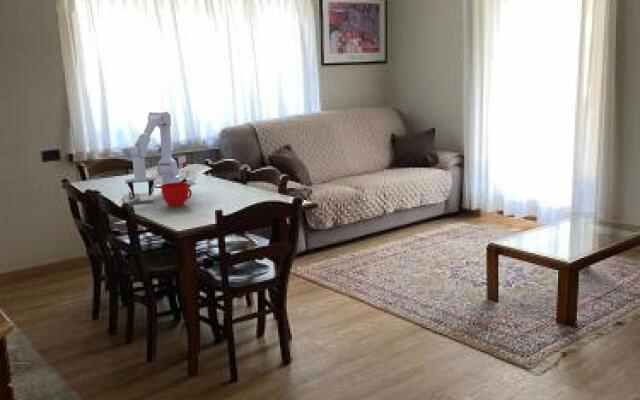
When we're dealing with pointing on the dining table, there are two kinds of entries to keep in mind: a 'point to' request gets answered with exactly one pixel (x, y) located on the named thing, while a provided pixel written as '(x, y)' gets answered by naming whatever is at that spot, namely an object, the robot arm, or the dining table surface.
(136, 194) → the sage knob
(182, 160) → the red and white box
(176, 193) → the ceramic cup
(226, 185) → the dining table surface
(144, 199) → the switch base
